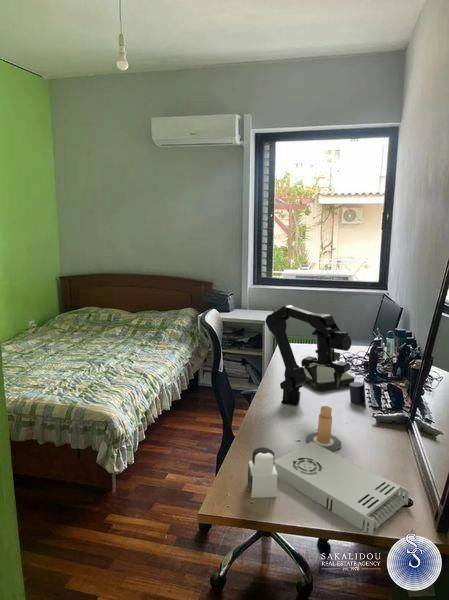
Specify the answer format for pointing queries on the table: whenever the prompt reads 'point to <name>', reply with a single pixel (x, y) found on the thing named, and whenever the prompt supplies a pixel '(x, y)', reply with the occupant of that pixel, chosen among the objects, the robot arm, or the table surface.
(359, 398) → the speaker
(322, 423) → the wooden bottle
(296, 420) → the table surface
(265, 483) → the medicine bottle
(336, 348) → the robot arm
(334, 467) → the power supply unit
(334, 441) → the charcoal pad
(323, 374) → the network switch
